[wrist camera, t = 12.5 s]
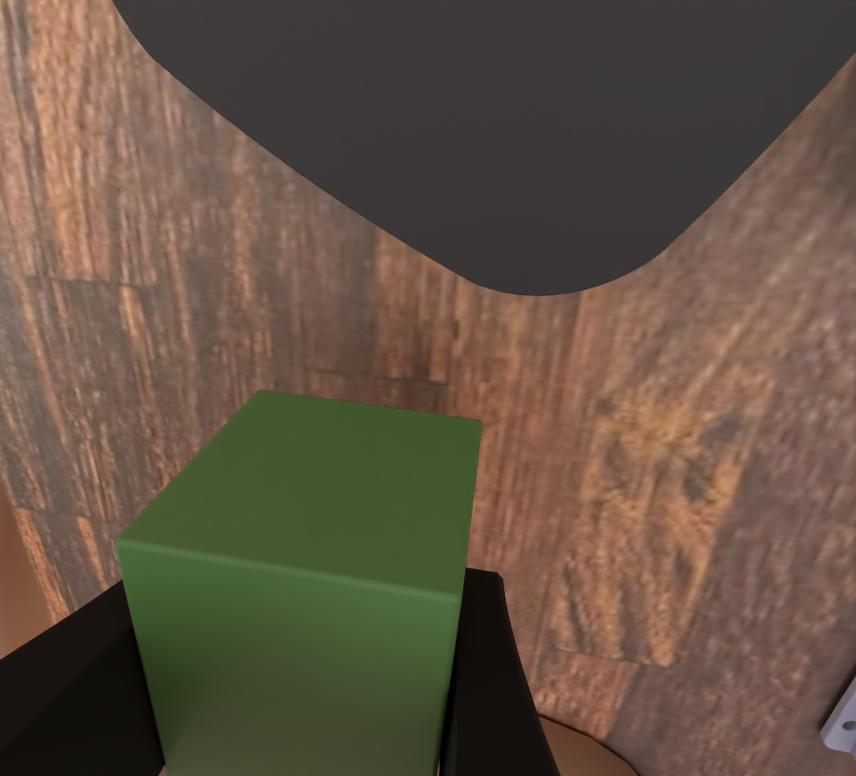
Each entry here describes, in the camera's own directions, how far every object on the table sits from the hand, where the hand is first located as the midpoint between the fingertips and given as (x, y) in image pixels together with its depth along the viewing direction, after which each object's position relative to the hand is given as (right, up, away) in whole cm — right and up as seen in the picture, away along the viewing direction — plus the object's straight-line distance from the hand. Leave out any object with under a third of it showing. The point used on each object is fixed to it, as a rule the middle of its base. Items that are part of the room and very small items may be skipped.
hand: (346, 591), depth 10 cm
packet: (0, +1, +1) cm, 1 cm away
